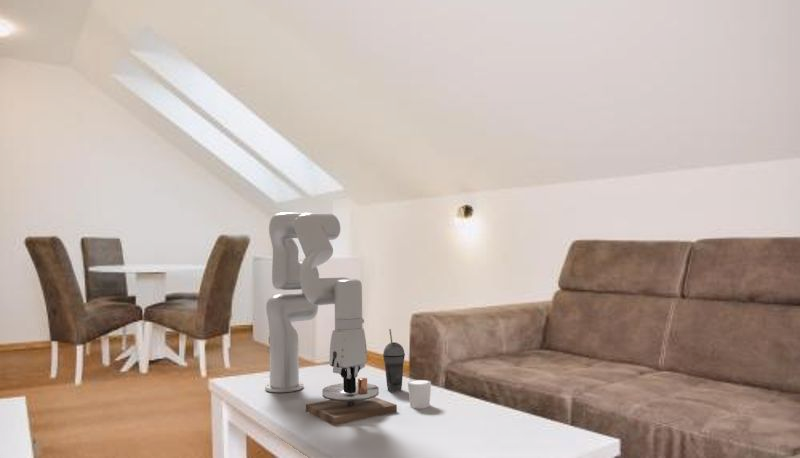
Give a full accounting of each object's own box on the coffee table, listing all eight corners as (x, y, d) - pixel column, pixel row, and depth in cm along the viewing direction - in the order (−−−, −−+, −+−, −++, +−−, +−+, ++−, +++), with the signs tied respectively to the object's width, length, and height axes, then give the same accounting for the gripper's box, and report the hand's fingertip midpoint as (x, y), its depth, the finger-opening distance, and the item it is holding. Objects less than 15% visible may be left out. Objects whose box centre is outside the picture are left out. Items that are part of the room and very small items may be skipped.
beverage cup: (403, 393, 184) (402, 330, 185) (381, 392, 185) (380, 330, 186) (407, 388, 191) (406, 327, 192) (386, 387, 193) (385, 327, 193)
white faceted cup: (434, 404, 171) (434, 380, 171) (426, 410, 165) (425, 385, 165) (413, 401, 174) (413, 378, 174) (404, 407, 168) (403, 383, 168)
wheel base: (305, 411, 165) (305, 394, 165) (364, 400, 177) (364, 384, 177) (334, 425, 151) (334, 407, 152) (396, 411, 163) (396, 395, 163)
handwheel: (312, 393, 166) (312, 374, 166) (359, 384, 176) (359, 366, 176) (340, 404, 153) (339, 384, 153) (389, 394, 163) (389, 375, 163)
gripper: (359, 320, 165) (360, 385, 165) (318, 326, 155) (319, 395, 154) (377, 322, 160) (378, 389, 160) (336, 328, 149) (337, 400, 149)
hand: (349, 392), depth 157 cm, fingers closed
